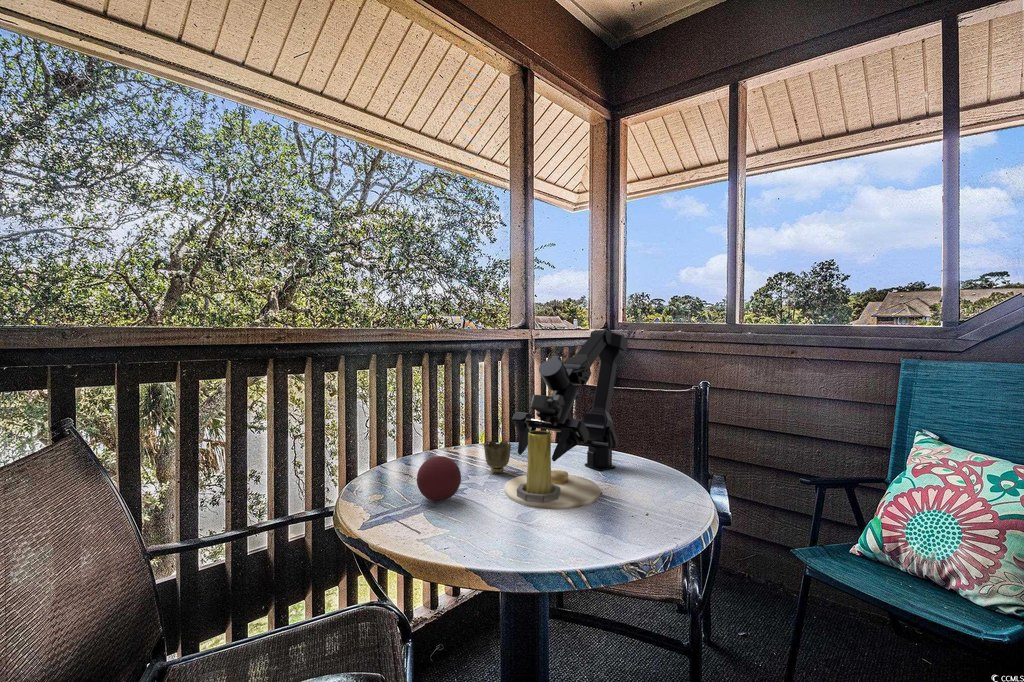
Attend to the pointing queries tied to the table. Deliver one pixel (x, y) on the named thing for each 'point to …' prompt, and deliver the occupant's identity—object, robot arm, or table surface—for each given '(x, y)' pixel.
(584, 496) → the disc
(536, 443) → the vase
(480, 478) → the table surface
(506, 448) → the cup
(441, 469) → the decorative ball
